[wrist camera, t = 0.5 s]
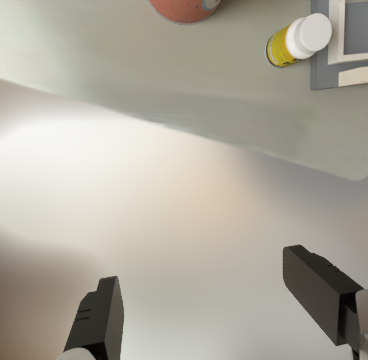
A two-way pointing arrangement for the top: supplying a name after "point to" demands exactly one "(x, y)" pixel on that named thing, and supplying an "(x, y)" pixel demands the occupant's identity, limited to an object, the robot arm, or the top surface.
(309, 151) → the top surface
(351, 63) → the holder board
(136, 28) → the top surface
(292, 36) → the supplement bottle
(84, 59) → the top surface
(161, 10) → the canned food
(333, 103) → the top surface
